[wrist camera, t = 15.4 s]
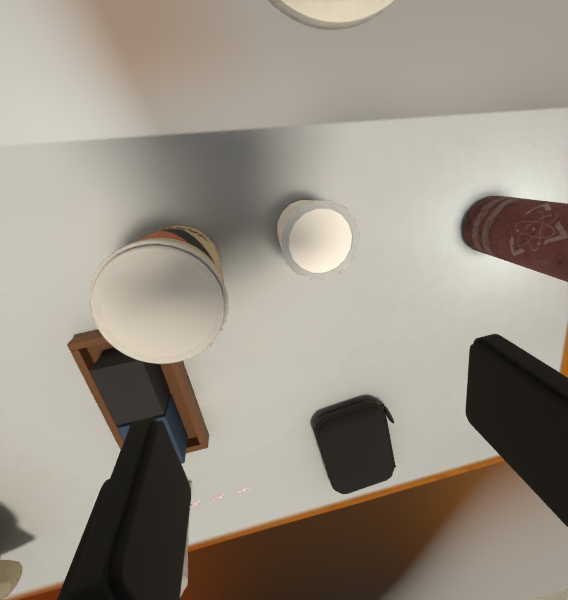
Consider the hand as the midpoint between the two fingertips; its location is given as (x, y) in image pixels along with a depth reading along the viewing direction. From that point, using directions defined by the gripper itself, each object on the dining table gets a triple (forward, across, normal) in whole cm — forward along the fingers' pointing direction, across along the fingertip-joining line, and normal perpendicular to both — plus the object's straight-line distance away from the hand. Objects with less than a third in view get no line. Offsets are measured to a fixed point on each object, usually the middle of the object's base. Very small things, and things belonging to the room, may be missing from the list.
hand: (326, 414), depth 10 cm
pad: (+26, +16, +12) cm, 33 cm away
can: (+26, -26, +4) cm, 37 cm away
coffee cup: (+26, +8, +1) cm, 28 cm away
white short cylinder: (+26, -5, 0) cm, 27 cm away
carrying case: (+26, -8, +31) cm, 42 cm away
